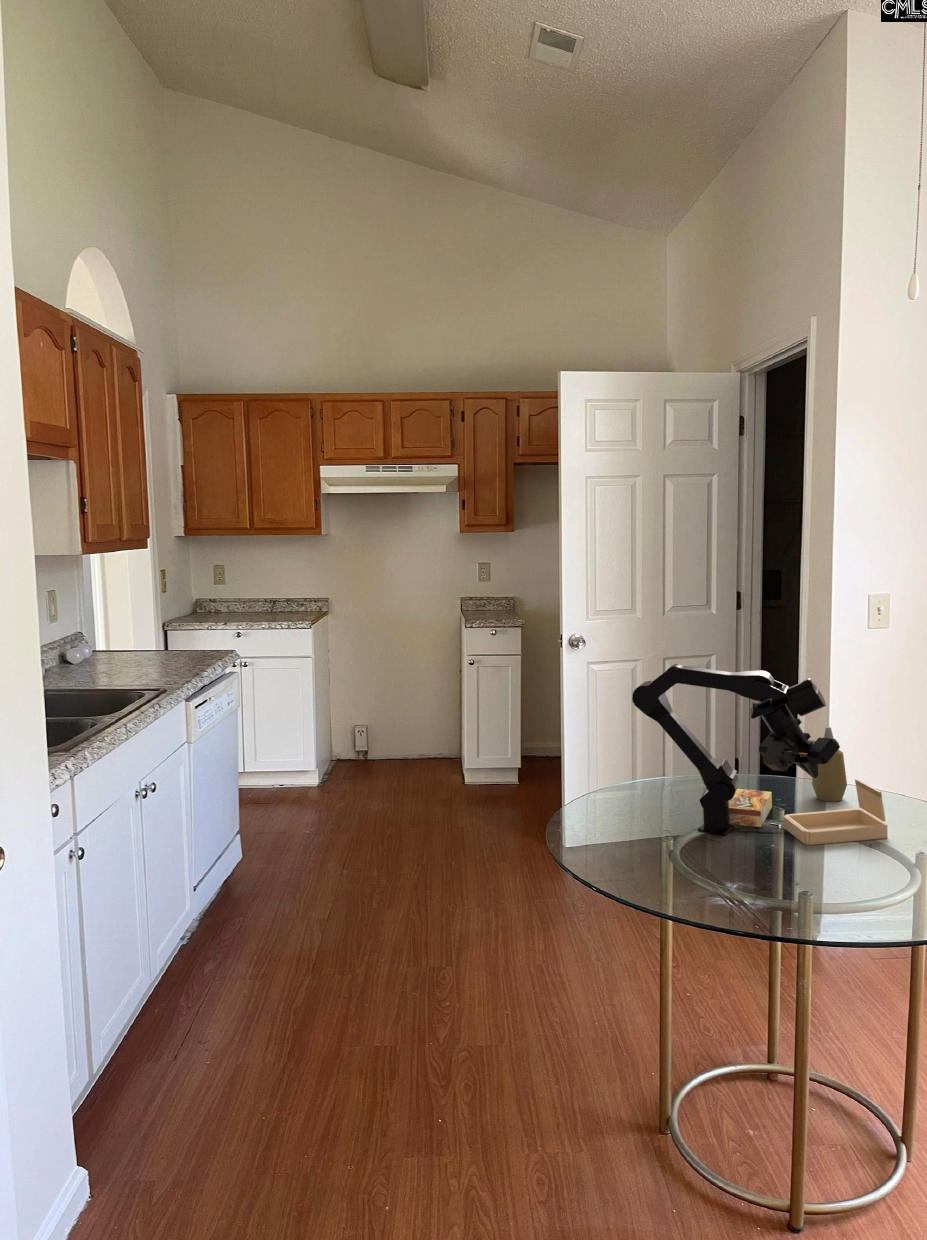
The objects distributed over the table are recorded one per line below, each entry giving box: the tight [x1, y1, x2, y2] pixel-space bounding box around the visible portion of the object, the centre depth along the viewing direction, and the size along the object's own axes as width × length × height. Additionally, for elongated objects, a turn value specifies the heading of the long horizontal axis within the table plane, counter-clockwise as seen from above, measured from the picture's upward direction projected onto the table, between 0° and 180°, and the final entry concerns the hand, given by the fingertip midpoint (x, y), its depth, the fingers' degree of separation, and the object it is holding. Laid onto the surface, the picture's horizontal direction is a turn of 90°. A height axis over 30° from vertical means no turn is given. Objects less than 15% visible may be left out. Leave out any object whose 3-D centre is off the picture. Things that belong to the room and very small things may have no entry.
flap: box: [854, 778, 886, 823], centre depth 193 cm, size 1×10×7 cm, turn 4°
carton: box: [782, 808, 888, 846], centre depth 193 cm, size 18×12×3 cm, turn 94°
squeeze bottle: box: [811, 726, 848, 802], centre depth 215 cm, size 8×8×18 cm
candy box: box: [728, 788, 773, 828], centre depth 208 cm, size 9×4×15 cm
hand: (815, 776), depth 195 cm, fingers closed
